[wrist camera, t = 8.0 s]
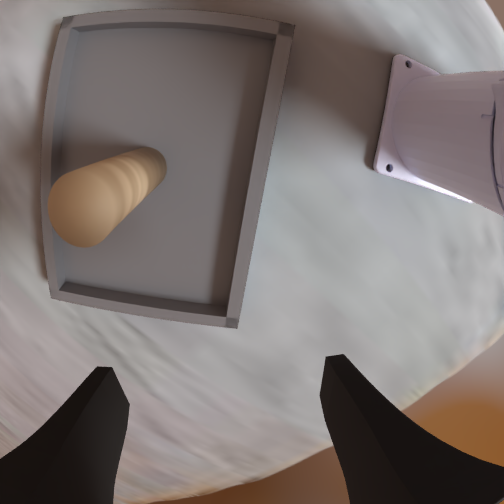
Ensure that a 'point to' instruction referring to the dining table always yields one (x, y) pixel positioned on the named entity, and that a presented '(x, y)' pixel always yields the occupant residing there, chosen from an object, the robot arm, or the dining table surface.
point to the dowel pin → (103, 195)
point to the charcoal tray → (165, 154)
